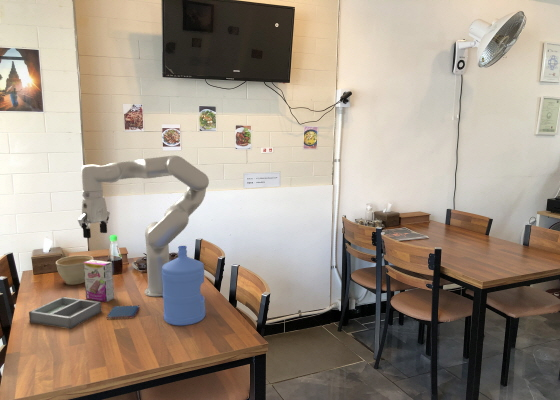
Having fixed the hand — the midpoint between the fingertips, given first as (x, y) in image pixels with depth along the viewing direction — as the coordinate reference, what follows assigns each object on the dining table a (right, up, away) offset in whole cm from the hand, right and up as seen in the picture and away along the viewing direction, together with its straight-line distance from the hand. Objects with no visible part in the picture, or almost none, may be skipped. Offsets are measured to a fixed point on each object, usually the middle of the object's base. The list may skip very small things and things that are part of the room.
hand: (95, 235), depth 178 cm
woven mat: (+16, -31, -11) cm, 36 cm away
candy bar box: (0, -28, +4) cm, 28 cm away
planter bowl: (-21, -25, +26) cm, 41 cm away
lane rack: (-5, -30, -14) cm, 34 cm away
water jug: (+41, -31, -15) cm, 53 cm away
